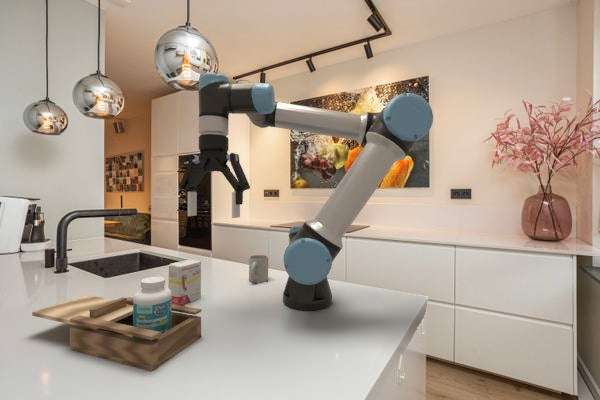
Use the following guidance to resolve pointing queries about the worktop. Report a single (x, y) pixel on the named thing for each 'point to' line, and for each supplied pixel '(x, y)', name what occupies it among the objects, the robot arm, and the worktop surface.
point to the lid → (87, 310)
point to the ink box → (185, 281)
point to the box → (133, 351)
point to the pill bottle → (153, 306)
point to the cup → (258, 268)
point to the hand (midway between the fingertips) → (213, 216)
